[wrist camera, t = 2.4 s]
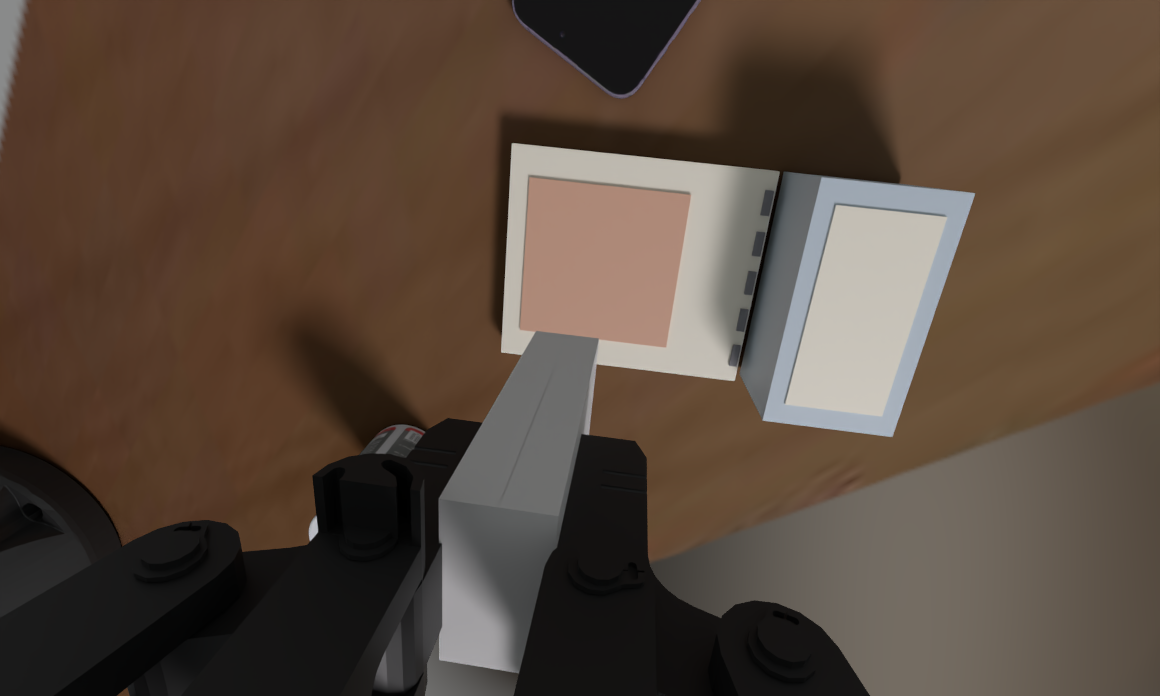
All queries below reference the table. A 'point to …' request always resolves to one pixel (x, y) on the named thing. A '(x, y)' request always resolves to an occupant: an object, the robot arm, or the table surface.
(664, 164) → the board
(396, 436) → the pill bottle
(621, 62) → the smartphone
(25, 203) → the table surface
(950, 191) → the blue framed panel box
